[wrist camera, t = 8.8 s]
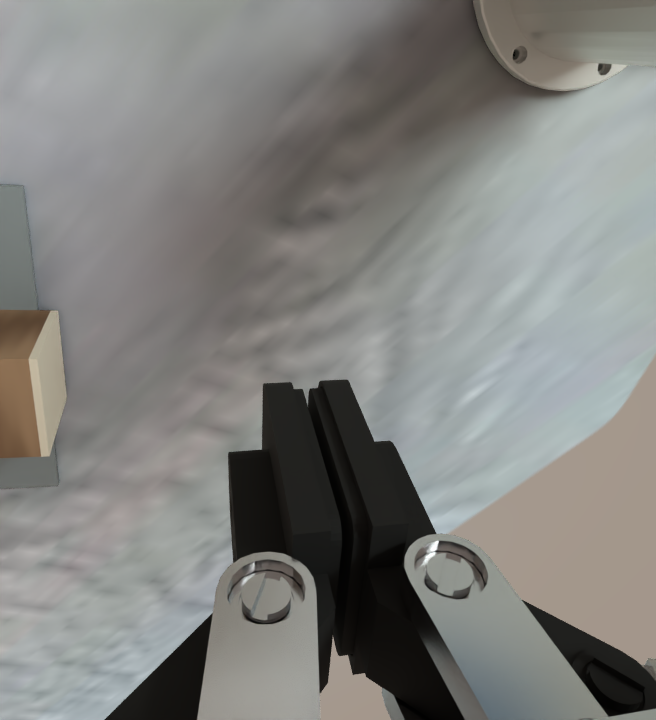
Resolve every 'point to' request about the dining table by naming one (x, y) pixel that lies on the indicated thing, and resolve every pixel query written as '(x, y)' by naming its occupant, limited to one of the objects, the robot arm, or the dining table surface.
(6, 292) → the slate mat
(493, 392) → the dining table surface
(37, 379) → the brown rectangular block
